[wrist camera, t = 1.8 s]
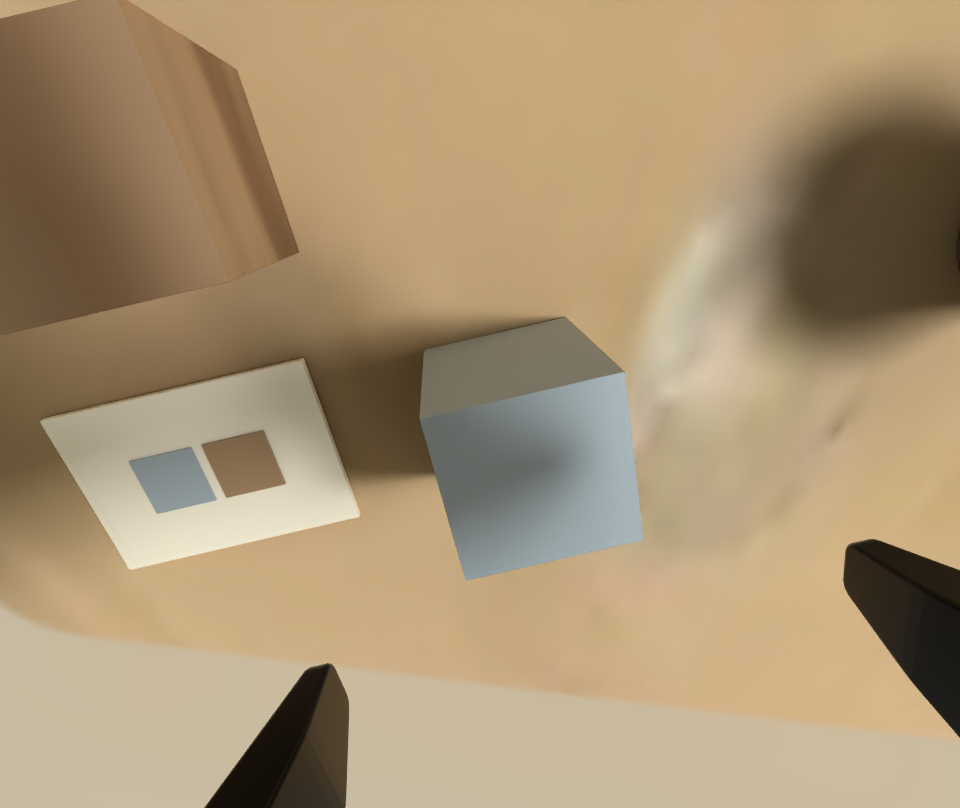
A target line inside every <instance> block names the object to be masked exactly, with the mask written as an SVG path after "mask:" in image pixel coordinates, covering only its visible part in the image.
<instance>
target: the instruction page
mask: <svg viewBox="0 0 960 808" xmlns="http://www.w3.org/2000/svg"><path fill="white" fill-rule="evenodd" d="M40 423H41V425H42V426H43V428H44V430H45V431H46V433H47V435H48V436H49V438H50V440H51V441H52V443H53V444H54V446H55V448H56V449H57V451H58V453H59V454H60V456H61V458H62V459H63V461H64V463H65V464H66V466H67V468H68V469H69V471H70V472H71V474H72V476H73V477H74V479H75V481H76V482H77V484H78V486H79V487H80V489H81V491H82V492H83V494H84V495H85V497H86V499H87V500H88V502H89V504H90V505H91V507H92V509H93V510H94V512H95V514H96V515H97V517H98V519H99V520H100V522H101V523H102V525H103V527H104V528H105V530H106V532H107V533H108V535H109V537H110V538H111V540H112V542H113V543H114V545H115V546H116V548H117V550H118V551H119V553H120V555H121V556H122V558H123V560H124V561H125V563H126V565H127V566H128V568H129V570H132V569H136V568H140V567H145V566H149V565H153V564H158V563H162V562H166V561H171V560H175V559H179V558H184V557H188V556H192V555H197V554H201V553H205V552H210V551H214V550H218V549H222V548H227V547H231V546H235V545H240V544H244V543H248V542H253V541H257V540H261V539H266V538H270V537H274V536H279V535H283V534H287V533H292V532H296V531H300V530H305V529H309V528H313V527H318V526H322V525H326V524H331V523H335V522H339V521H344V520H348V519H352V518H356V517H359V516H360V510H359V507H358V505H357V502H356V499H355V496H354V494H353V491H352V488H351V486H350V483H349V480H348V477H347V475H346V472H345V469H344V466H343V464H342V461H341V458H340V455H339V453H338V450H337V447H336V445H335V442H334V439H333V436H332V434H331V431H330V428H329V425H328V423H327V420H326V417H325V415H324V412H323V409H322V406H321V404H320V401H319V398H318V395H317V393H316V390H315V387H314V384H313V382H312V379H311V376H310V374H309V371H308V368H307V365H306V363H305V360H304V358H300V359H296V360H291V361H287V362H283V363H279V364H274V365H270V366H266V367H261V368H257V369H253V370H248V371H244V372H240V373H236V374H231V375H227V376H223V377H218V378H214V379H210V380H206V381H201V382H197V383H193V384H188V385H184V386H180V387H175V388H171V389H167V390H163V391H158V392H154V393H150V394H145V395H141V396H137V397H133V398H128V399H124V400H120V401H115V402H111V403H107V404H102V405H98V406H94V407H90V408H85V409H81V410H77V411H72V412H68V413H64V414H60V415H55V416H51V417H47V418H44V419H43V420H41V421H40Z"/></svg>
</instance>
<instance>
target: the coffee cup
mask: <svg viewBox="0 0 960 808" xmlns="http://www.w3.org/2000/svg"><path fill="white" fill-rule="evenodd" d="M957 254H958V262H959V270H960V234H959V240H958V245H957Z"/></svg>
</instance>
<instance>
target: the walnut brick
mask: <svg viewBox="0 0 960 808" xmlns="http://www.w3.org/2000/svg"><path fill="white" fill-rule="evenodd" d="M298 252H299V250H298V247H297V244H296V241H295V239H294V236H293V233H292V230H291V227H290V224H289V221H288V218H287V215H286V212H285V209H284V206H283V203H282V200H281V197H280V195H279V192H278V189H277V186H276V183H275V180H274V177H273V174H272V171H271V168H270V165H269V162H268V159H267V156H266V153H265V151H264V148H263V145H262V142H261V139H260V136H259V133H258V130H257V127H256V124H255V121H254V118H253V115H252V112H251V110H250V107H249V104H248V101H247V98H246V95H245V92H244V89H243V86H242V83H241V80H240V77H239V74H238V71H237V69H235V68H233V67H232V66H230V65H229V64H227V63H226V62H224V61H222V60H221V59H219V58H218V57H216V56H214V55H213V54H211V53H210V52H208V51H207V50H205V49H203V48H202V47H200V46H199V45H197V44H196V43H194V42H192V41H191V40H189V39H188V38H186V37H184V36H183V35H181V34H180V33H178V32H177V31H175V30H173V29H172V28H170V27H169V26H167V25H166V24H164V23H162V22H161V21H159V20H158V19H156V18H154V17H153V16H151V15H150V14H148V13H147V12H145V11H143V10H142V9H140V8H139V7H137V6H135V5H134V4H132V3H131V2H129V1H128V0H77V1H73V2H69V3H65V4H60V5H56V6H52V7H48V8H44V9H39V10H35V11H31V12H27V13H22V14H18V15H14V16H10V17H6V18H1V19H0V335H4V334H8V333H12V332H16V331H21V330H25V329H29V328H33V327H38V326H42V325H46V324H51V323H55V322H59V321H63V320H68V319H72V318H76V317H81V316H85V315H89V314H93V313H98V312H102V311H106V310H111V309H115V308H119V307H123V306H128V305H132V304H136V303H140V302H145V301H149V300H153V299H158V298H162V297H166V296H170V295H175V294H179V293H183V292H188V291H192V290H196V289H200V288H205V287H209V286H213V285H217V284H222V283H226V282H230V281H232V280H235V279H237V278H240V277H242V276H244V275H247V274H249V273H251V272H254V271H256V270H258V269H261V268H263V267H265V266H268V265H270V264H272V263H275V262H277V261H279V260H282V259H284V258H286V257H289V256H291V255H293V254H296V253H298Z"/></svg>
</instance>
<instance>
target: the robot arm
mask: <svg viewBox="0 0 960 808" xmlns="http://www.w3.org/2000/svg"><path fill="white" fill-rule="evenodd" d="M843 582H844V586H845V589H846V591H847V593H848V595H849V596H850V598H851V599H852V601H853V602H854V603H855V605H856V606H857V608H858V609H859V610H860V612H861V613H862V614H863V616H864V617H865V619H866V620H867V621H868V623H869V624H870V626H871V627H872V628H873V630H874V631H875V632H876V634H877V635H878V637H879V638H880V639H881V641H882V642H883V644H884V645H885V646H886V648H887V649H888V650H889V652H890V653H891V655H892V656H893V657H894V659H895V660H896V662H897V663H898V664H899V666H900V667H901V668H902V670H903V671H904V672H905V674H906V675H907V676H908V677H909V679H910V680H911V681H912V682H913V684H914V685H915V686H916V687H917V688H918V690H919V691H920V692H921V693H922V694H923V696H924V697H925V698H926V699H927V700H928V701H929V703H930V704H931V705H932V706H933V707H934V708H935V710H936V711H937V712H938V713H939V714H940V715H941V716H942V718H943V719H944V720H945V721H946V722H947V723H948V725H949V726H950V727H951V728H952V729H953V730H954V731H955V733H956V734H957V735H958V736H959V737H960V570H958V569H955V568H952V567H949V566H947V565H944V564H941V563H939V562H936V561H933V560H931V559H928V558H925V557H922V556H920V555H917V554H914V553H912V552H909V551H906V550H903V549H901V548H898V547H895V546H893V545H890V544H887V543H885V542H882V541H879V540H875V539H868V540H864V541H859V542H855V543H851V544H849V545H848V546H847V548H846V551H845V564H844V576H843ZM348 728H349V701H348V697H347V694H346V691H345V689H344V687H343V685H342V682H341V680H340V678H339V676H338V674H337V671H336V669H335V668H334V666H333V665H332V664H328V663H327V664H323V665H318V666H314V667H310V668H308V669H307V670H306V671H305V672H304V673H303V675H302V676H301V677H300V679H299V680H298V681H297V683H296V684H295V685H294V687H293V688H292V689H291V691H290V692H289V694H288V695H287V696H286V697H285V699H284V700H283V702H282V703H281V704H280V706H279V707H278V708H277V710H276V711H275V713H274V714H273V715H272V717H271V718H270V719H269V721H268V722H267V723H266V725H265V726H264V728H263V729H262V730H261V732H260V733H259V734H258V736H257V737H256V738H255V740H254V741H253V742H252V744H251V745H250V746H249V748H248V749H247V751H246V752H245V753H244V755H243V756H242V757H241V759H240V760H239V761H238V763H237V764H236V765H235V767H234V768H233V770H232V771H231V772H230V774H229V775H228V776H227V778H226V779H225V780H224V782H223V783H222V784H221V786H220V787H219V789H218V790H217V791H216V793H215V794H214V795H213V797H212V798H211V799H210V801H209V802H208V804H207V805H206V806H205V808H345V806H346V786H347V785H346V784H347V757H348V756H347V755H348Z"/></svg>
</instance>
